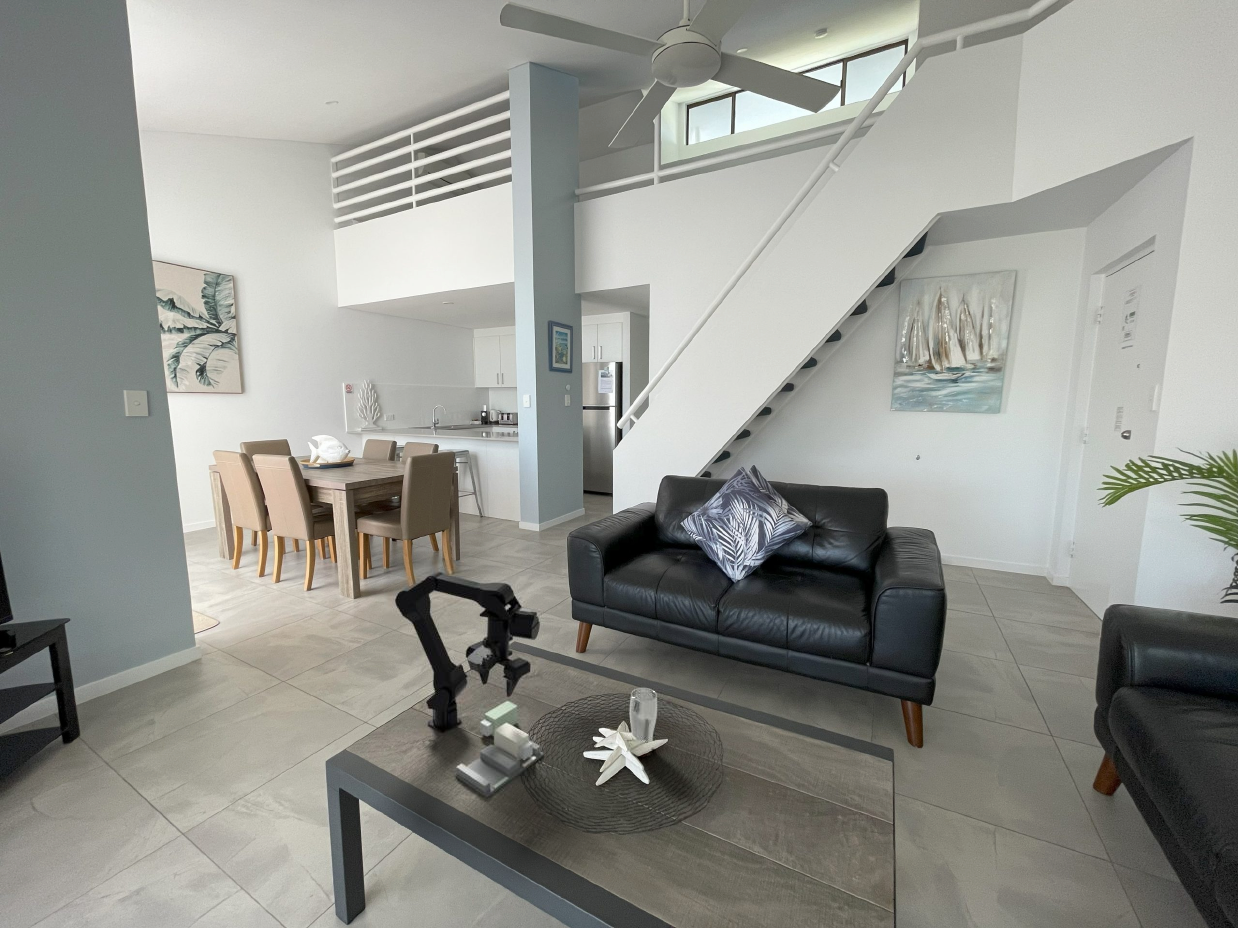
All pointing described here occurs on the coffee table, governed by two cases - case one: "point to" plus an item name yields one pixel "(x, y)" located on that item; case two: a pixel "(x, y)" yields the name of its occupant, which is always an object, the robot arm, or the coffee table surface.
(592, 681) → the coffee table surface
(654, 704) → the beer glass
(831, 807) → the coffee table surface
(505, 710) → the sage plug
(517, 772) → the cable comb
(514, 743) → the cream plug
